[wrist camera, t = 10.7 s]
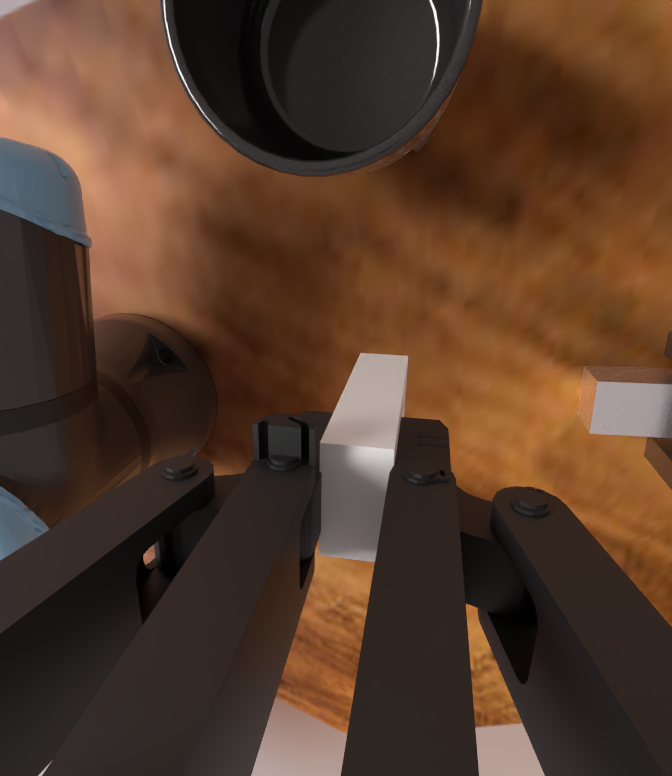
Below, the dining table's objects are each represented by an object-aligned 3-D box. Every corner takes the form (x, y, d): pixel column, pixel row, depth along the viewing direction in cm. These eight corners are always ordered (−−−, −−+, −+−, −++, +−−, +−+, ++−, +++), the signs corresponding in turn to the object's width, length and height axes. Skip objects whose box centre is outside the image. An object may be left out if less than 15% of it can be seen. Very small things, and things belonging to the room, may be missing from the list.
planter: (300, -48, 35) (179, -263, 19) (491, -2, 34) (542, -185, 18) (262, 159, 40) (139, 133, 23) (428, 205, 39) (422, 211, 22)
